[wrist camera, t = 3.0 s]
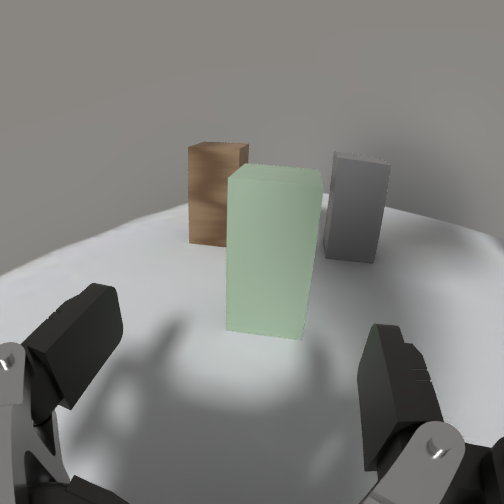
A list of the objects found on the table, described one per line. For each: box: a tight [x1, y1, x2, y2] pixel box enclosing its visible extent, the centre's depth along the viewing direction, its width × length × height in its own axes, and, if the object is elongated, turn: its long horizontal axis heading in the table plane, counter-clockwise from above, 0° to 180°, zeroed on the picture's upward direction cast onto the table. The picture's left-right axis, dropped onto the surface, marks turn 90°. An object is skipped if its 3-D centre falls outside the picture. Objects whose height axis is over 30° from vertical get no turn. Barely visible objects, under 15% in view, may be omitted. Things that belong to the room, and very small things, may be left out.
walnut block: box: [188, 142, 249, 247], centre depth 33 cm, size 5×5×10 cm
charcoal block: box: [324, 152, 391, 263], centre depth 32 cm, size 5×5×10 cm
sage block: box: [226, 163, 323, 340], centre depth 21 cm, size 5×5×10 cm
